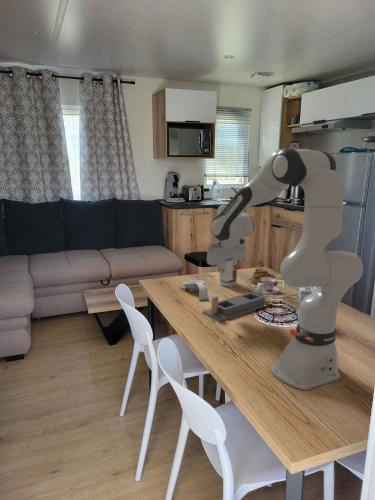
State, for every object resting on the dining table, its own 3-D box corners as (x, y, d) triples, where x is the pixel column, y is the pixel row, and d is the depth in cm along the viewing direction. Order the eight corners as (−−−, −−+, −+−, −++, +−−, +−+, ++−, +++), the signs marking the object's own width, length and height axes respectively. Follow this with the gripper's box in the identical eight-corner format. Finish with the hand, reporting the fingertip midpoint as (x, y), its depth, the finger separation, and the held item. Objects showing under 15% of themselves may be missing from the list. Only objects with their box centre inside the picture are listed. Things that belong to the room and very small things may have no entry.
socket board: (220, 321, 156) (220, 301, 153) (202, 312, 165) (202, 294, 163) (272, 304, 175) (273, 286, 172) (253, 297, 184) (254, 280, 182)
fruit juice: (219, 281, 209) (220, 233, 203) (236, 281, 208) (237, 233, 202) (219, 286, 200) (220, 236, 194) (236, 287, 199) (237, 236, 193)
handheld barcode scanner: (180, 286, 201) (180, 274, 199) (200, 284, 204) (200, 272, 203) (193, 302, 179) (192, 288, 177) (215, 299, 182) (215, 285, 180)
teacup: (252, 288, 197) (253, 277, 196) (271, 285, 201) (272, 275, 200) (264, 295, 186) (265, 284, 185) (284, 292, 190) (285, 281, 189)
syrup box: (312, 324, 153) (315, 291, 149) (298, 322, 154) (300, 290, 151) (311, 318, 158) (313, 286, 155) (297, 317, 159) (299, 286, 156)
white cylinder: (225, 281, 159) (226, 259, 157) (219, 279, 162) (220, 257, 160) (232, 279, 161) (233, 257, 159) (226, 277, 164) (226, 256, 162)
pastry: (259, 277, 217) (259, 264, 215) (280, 283, 206) (281, 269, 204) (244, 281, 209) (245, 268, 207) (266, 288, 198) (266, 274, 196)
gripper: (213, 245, 149) (212, 277, 152) (248, 239, 161) (247, 269, 164) (203, 242, 154) (203, 274, 157) (238, 236, 166) (237, 266, 169)
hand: (226, 271), depth 161 cm, fingers closed on white cylinder, 4 cm apart
